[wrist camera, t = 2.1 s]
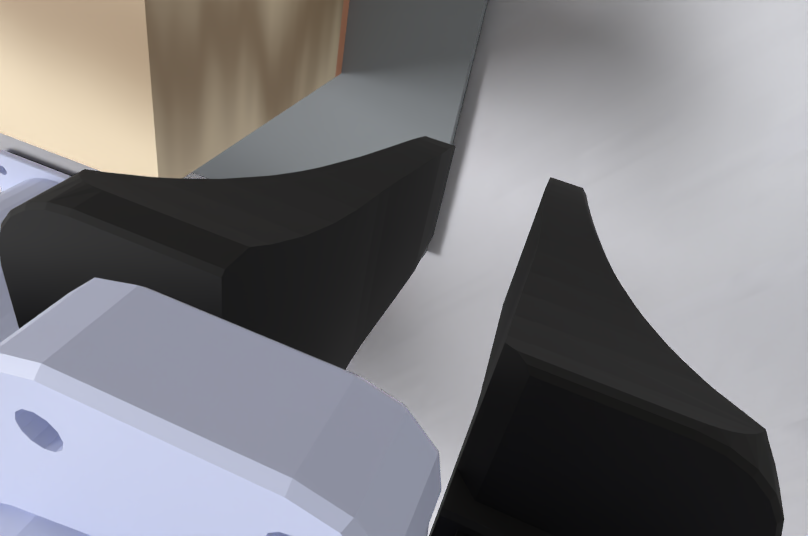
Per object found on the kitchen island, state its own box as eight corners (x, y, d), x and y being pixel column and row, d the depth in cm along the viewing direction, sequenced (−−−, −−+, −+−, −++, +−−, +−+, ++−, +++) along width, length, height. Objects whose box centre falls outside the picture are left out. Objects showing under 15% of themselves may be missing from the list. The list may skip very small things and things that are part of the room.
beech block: (341, 73, 22) (159, 193, 15) (221, 34, 23) (-10, 129, 16) (359, -82, 19) (141, -34, 12) (219, -120, 20) (-68, -98, 12)
